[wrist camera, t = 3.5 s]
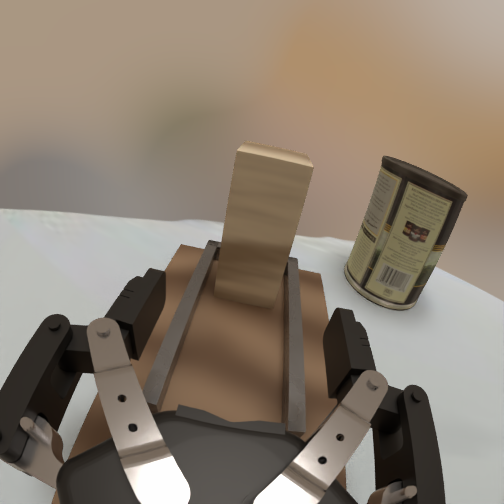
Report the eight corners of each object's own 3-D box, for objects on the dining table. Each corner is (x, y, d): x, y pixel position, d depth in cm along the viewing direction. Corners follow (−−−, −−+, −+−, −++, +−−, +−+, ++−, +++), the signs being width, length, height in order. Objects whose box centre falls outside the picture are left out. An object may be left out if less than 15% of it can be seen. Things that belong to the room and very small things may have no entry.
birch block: (272, 309, 23) (313, 167, 17) (213, 296, 23) (236, 150, 17) (274, 275, 27) (306, 154, 21) (223, 264, 27) (245, 140, 21)
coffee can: (396, 264, 36) (433, 172, 29) (429, 312, 28) (484, 204, 20) (333, 253, 35) (368, 147, 28) (358, 307, 26) (415, 173, 19)
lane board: (339, 582, 5) (359, 585, 4) (48, 528, 5) (30, 525, 4) (318, 278, 30) (324, 262, 29) (180, 249, 29) (182, 231, 28)
